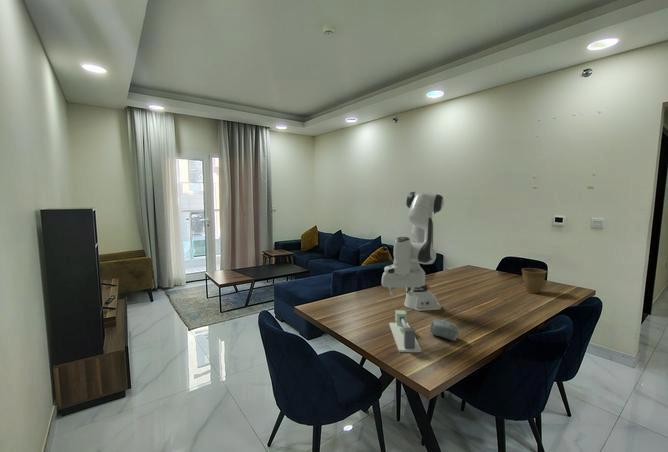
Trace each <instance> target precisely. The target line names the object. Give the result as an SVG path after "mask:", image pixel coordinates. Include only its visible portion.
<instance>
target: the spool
mask: <svg viewBox="0 0 668 452" xmlns="http://www.w3.org/2000/svg"><path fill="white" fill-rule="evenodd" d="M459 332H460V330H459V327H458V325H456V324H455V323H452V322H450V321H446V320H443V319H433V321H432V322H431V324H430V333H431V334H432V335H434V336H437V337H439V338H444V339H446V340H448V341H452V342H453V341H456V340H457V338H458V336H459Z"/></svg>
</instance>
